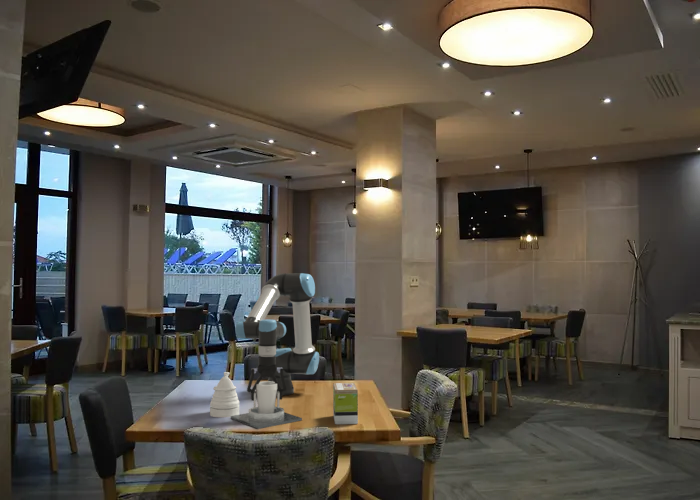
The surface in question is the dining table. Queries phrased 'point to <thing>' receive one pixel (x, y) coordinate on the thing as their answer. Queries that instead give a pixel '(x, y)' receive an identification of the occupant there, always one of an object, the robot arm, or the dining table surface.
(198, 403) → the dining table surface
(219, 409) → the honey pot
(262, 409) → the foam cup
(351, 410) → the tea box
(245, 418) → the duct flange
